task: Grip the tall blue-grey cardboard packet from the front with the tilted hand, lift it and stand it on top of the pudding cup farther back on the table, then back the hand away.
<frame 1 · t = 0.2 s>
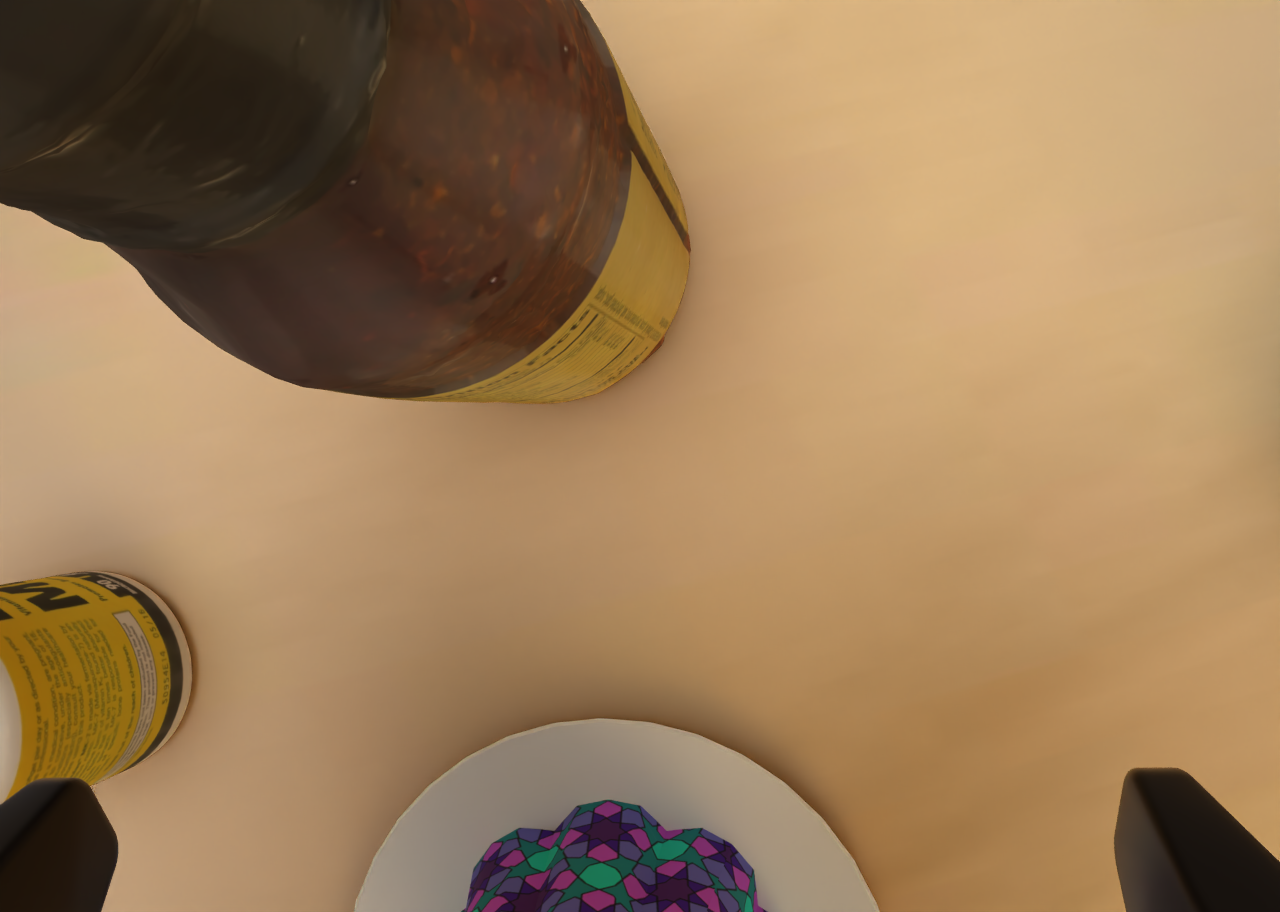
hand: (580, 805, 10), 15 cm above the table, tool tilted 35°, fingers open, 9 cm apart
supplement bottle: (108, 667, 26), on the table
sauce bottle: (560, 276, 25), on the table
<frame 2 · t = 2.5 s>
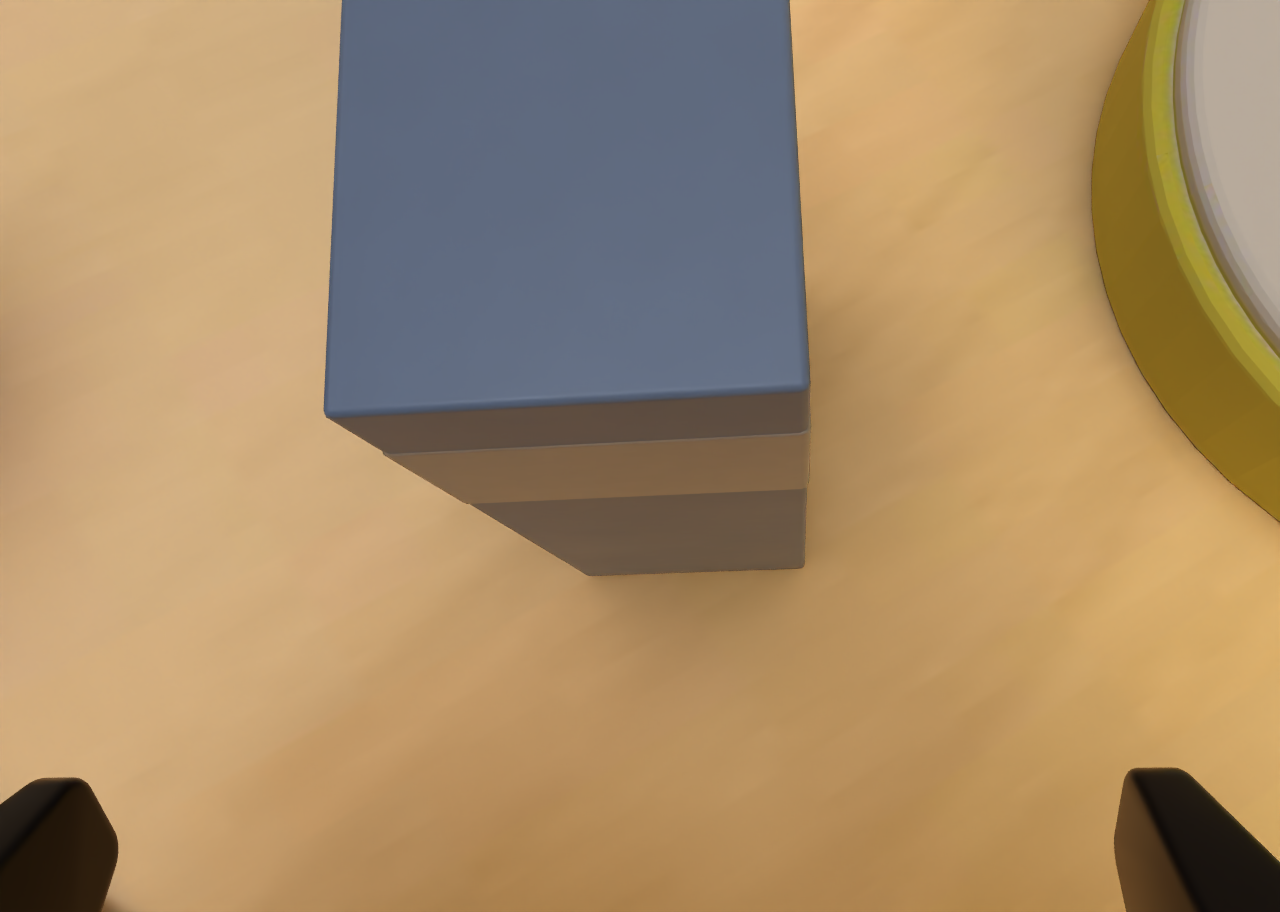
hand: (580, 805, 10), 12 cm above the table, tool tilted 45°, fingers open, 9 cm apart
packet: (689, 427, 23), on the table
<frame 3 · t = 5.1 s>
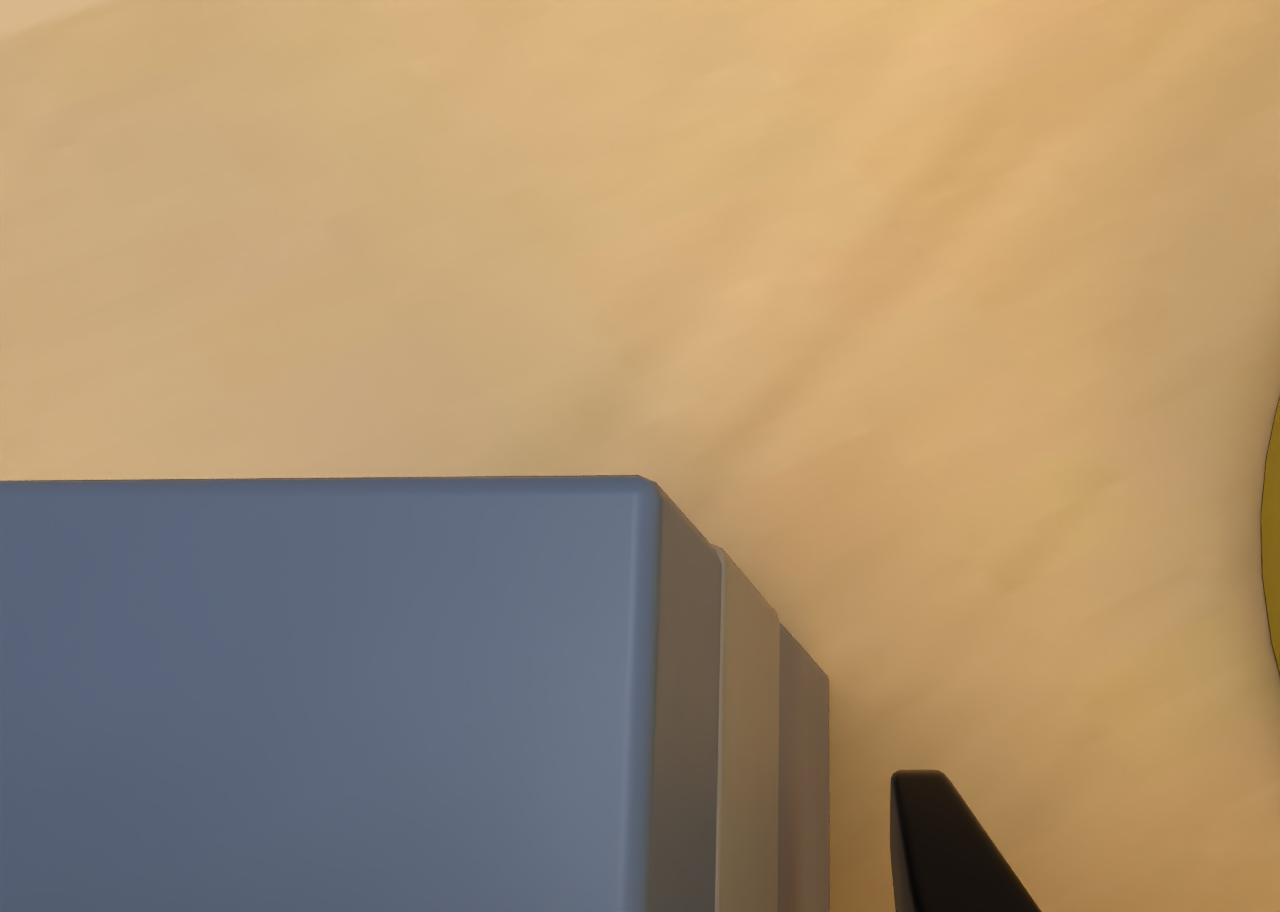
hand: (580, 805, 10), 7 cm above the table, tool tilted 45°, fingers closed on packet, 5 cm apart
packet: (671, 886, 16), on the table, touching gripper
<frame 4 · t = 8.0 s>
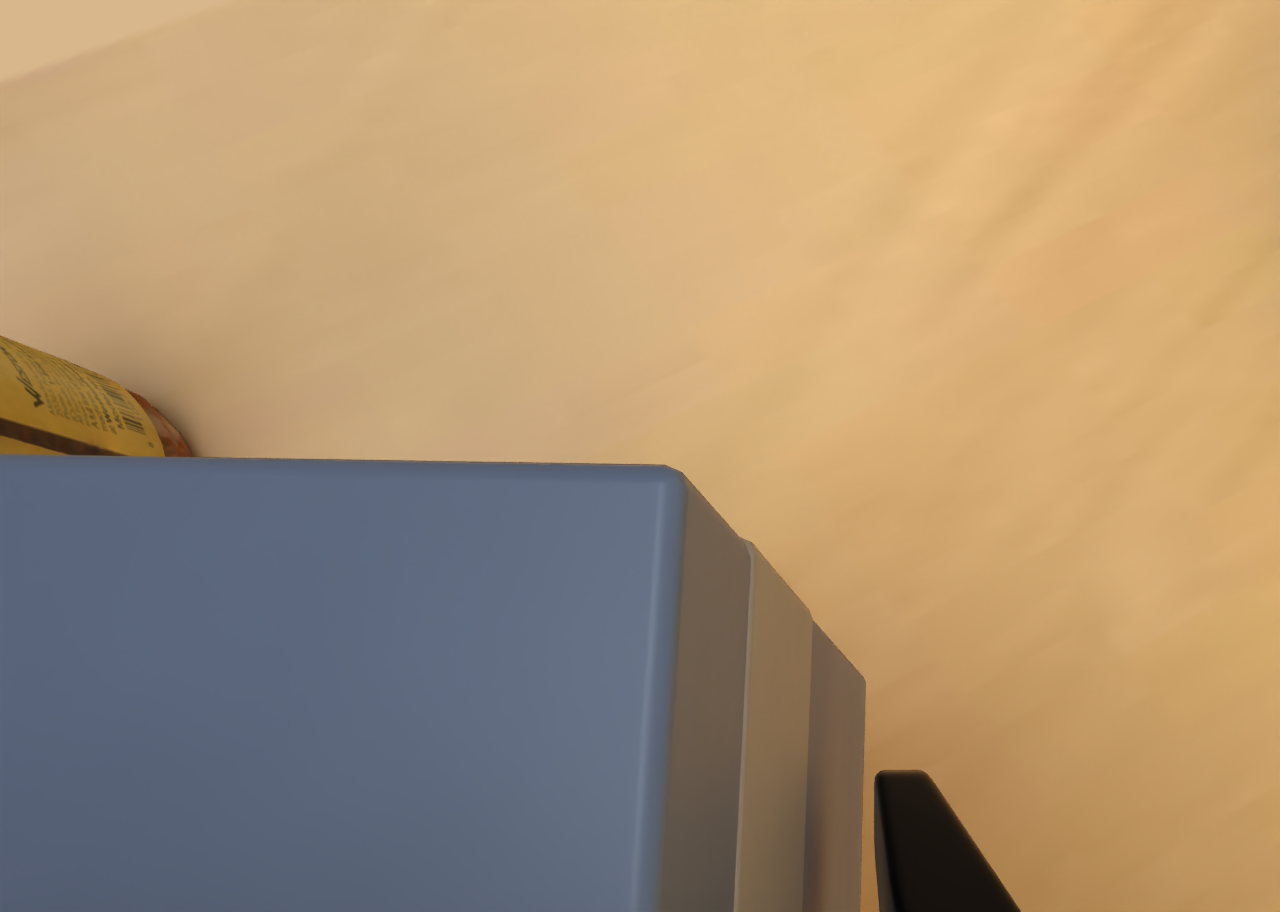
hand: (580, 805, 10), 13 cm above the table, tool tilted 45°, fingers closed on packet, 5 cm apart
packet: (701, 882, 16), point 6 cm above the table, tilted 6°, touching gripper
sauce bottle: (94, 530, 25), on the table
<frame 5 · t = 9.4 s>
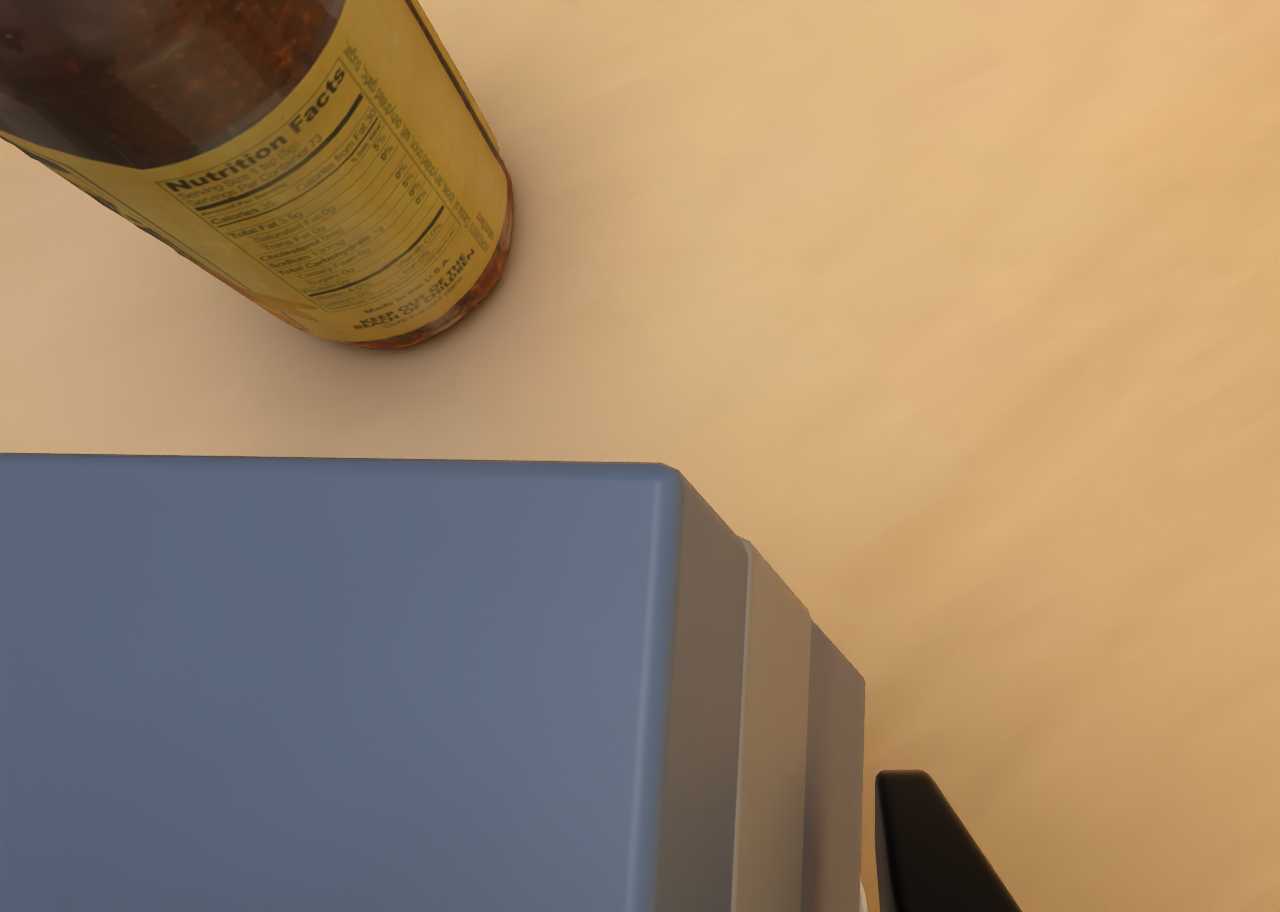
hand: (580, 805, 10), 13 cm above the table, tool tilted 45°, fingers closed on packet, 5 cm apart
packet: (701, 882, 16), point 7 cm above the table, tilted 6°, touching gripper
sauce bottle: (400, 245, 26), on the table
when the fingers open (12 cm above the table, at t = 10.8 s): packet stays where it is, resting on pudding.
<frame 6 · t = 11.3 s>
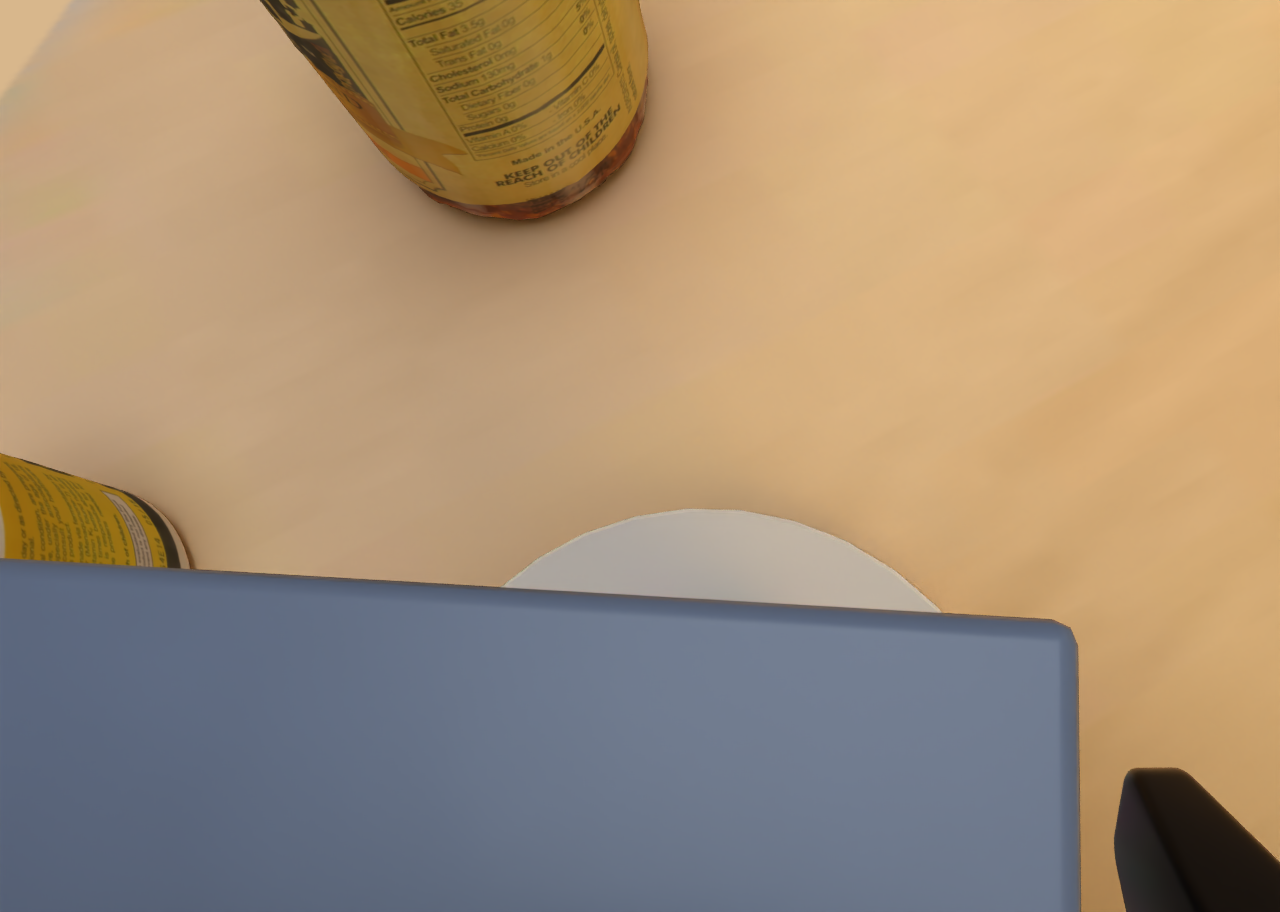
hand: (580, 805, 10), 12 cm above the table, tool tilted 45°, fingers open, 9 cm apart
supplement bottle: (100, 599, 24), on the table
packet: (705, 883, 16), point 5 cm above the table, touching pudding
sauce bottle: (526, 120, 25), on the table
pudding: (706, 823, 22), on the table, touching packet
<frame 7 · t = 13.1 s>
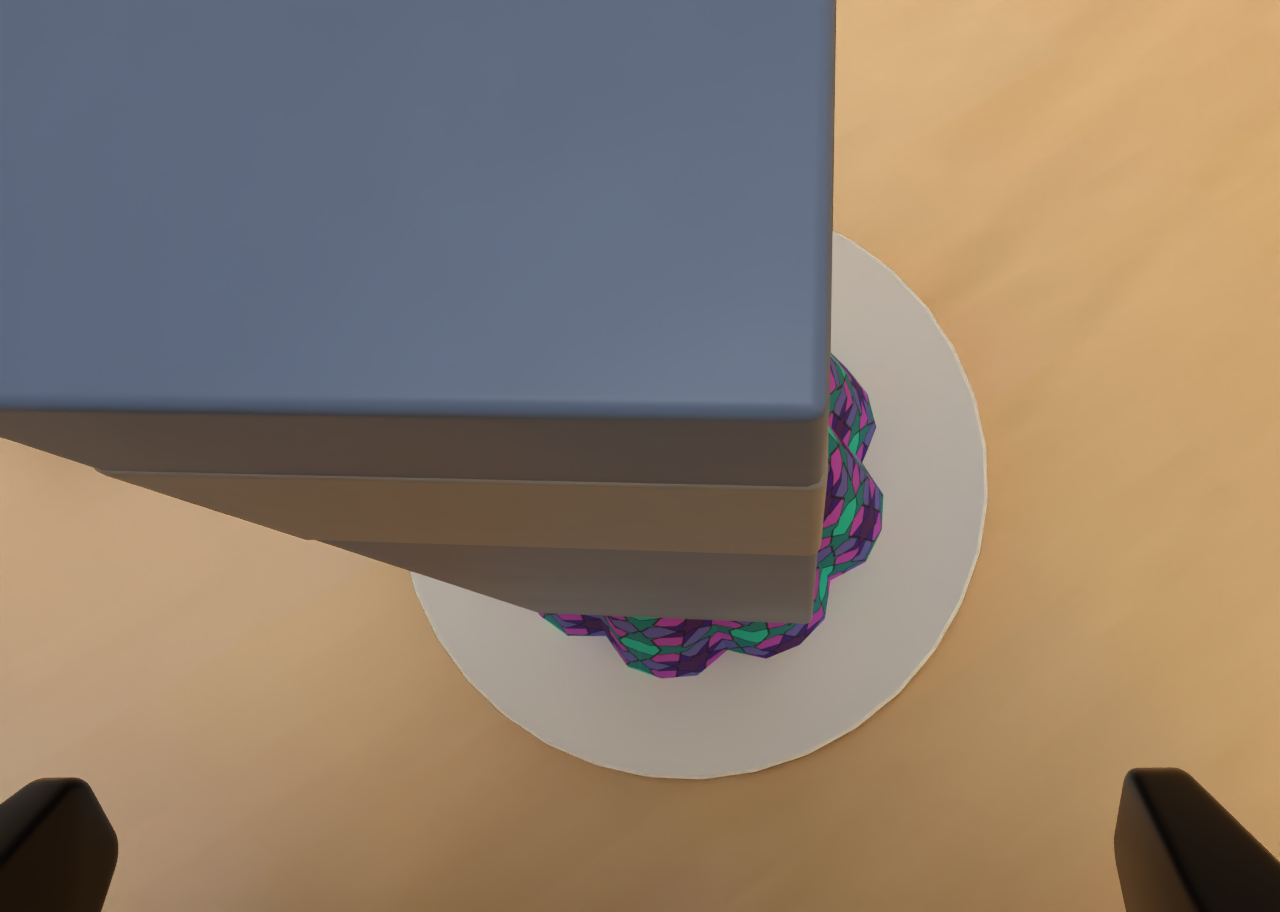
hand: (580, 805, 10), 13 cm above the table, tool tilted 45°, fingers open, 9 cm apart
packet: (678, 432, 18), point 5 cm above the table, touching pudding
pudding: (686, 481, 24), on the table, touching packet
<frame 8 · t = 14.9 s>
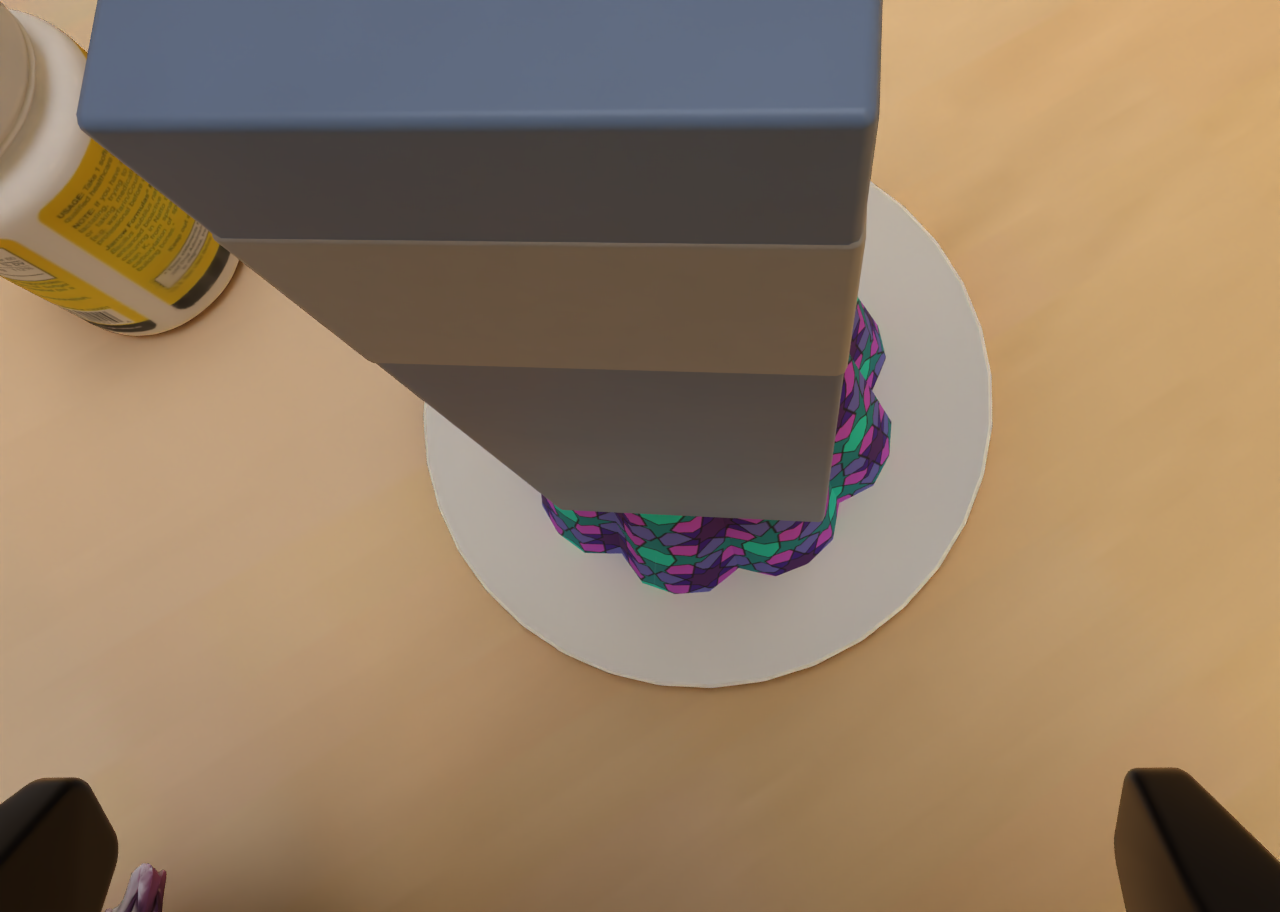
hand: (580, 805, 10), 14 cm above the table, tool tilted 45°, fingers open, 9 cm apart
supplement bottle: (161, 250, 27), on the table
packet: (699, 342, 19), point 5 cm above the table, touching pudding
pudding: (701, 408, 24), on the table, touching packet
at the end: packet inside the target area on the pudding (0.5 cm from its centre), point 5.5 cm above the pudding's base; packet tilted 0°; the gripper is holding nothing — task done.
